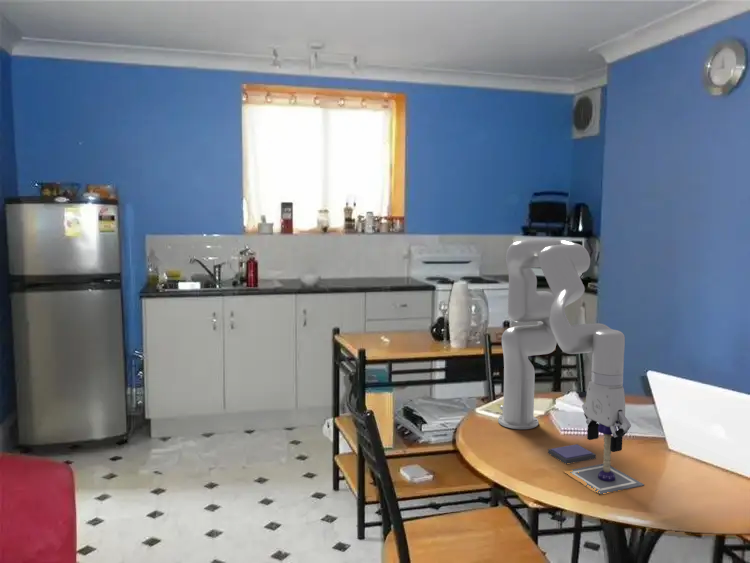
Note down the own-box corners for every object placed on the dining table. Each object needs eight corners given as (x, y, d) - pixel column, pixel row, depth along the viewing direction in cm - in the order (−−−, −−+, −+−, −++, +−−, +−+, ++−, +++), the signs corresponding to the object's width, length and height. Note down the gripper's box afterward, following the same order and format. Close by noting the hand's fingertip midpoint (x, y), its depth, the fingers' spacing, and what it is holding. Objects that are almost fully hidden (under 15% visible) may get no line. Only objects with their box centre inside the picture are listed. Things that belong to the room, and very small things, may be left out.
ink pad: (548, 453, 183) (548, 448, 183) (576, 448, 186) (577, 443, 186) (565, 464, 175) (566, 458, 175) (595, 458, 179) (595, 453, 179)
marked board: (563, 472, 170) (563, 470, 170) (605, 464, 175) (605, 462, 175) (599, 495, 157) (599, 493, 157) (644, 485, 162) (644, 484, 162)
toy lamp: (612, 483, 163) (615, 420, 160) (593, 479, 165) (596, 417, 163) (616, 476, 167) (619, 414, 164) (598, 472, 169) (601, 411, 167)
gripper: (572, 371, 169) (570, 435, 172) (619, 389, 153) (616, 460, 156) (595, 368, 172) (593, 431, 174) (644, 386, 156) (640, 455, 158)
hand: (604, 444), depth 165 cm, fingers open, 8 cm apart
